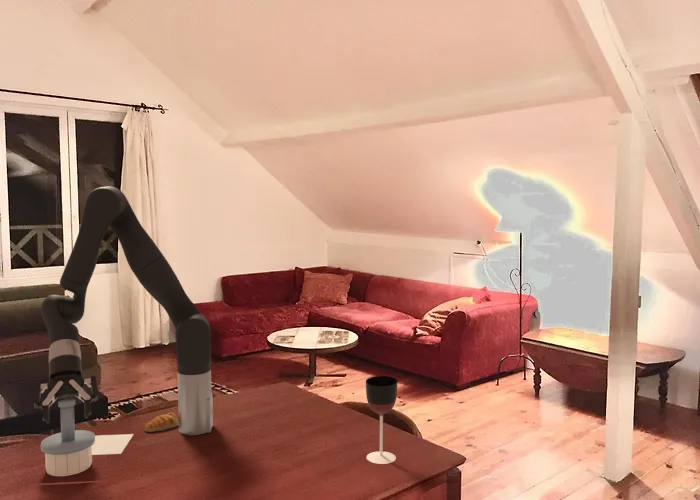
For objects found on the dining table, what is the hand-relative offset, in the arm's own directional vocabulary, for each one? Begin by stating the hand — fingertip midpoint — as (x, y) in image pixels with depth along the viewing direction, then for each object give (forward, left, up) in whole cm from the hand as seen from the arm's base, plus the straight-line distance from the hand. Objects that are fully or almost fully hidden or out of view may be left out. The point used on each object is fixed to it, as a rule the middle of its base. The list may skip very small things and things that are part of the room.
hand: (67, 419), depth 143 cm
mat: (-4, -14, -13) cm, 19 cm away
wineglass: (-77, +1, -13) cm, 78 cm away
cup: (0, -1, -13) cm, 13 cm away
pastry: (-17, -26, -13) cm, 34 cm away
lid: (0, -1, -7) cm, 7 cm away
